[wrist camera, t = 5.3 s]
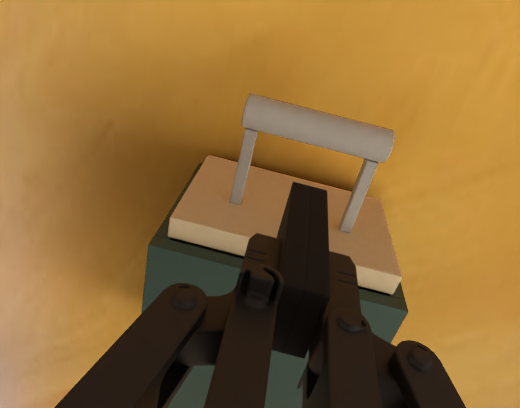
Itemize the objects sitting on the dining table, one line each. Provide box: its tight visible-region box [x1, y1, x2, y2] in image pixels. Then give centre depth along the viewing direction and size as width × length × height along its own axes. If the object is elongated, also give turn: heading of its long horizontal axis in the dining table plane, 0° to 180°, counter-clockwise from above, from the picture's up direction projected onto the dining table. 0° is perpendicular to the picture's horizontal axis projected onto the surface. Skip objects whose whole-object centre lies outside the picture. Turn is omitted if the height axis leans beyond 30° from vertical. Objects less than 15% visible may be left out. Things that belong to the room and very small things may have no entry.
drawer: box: [168, 93, 402, 294], centre depth 25 cm, size 19×11×8 cm, turn 167°
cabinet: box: [141, 163, 408, 408], centre depth 27 cm, size 15×13×10 cm
